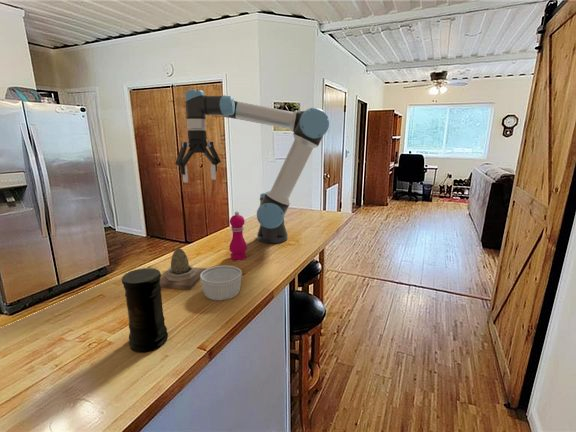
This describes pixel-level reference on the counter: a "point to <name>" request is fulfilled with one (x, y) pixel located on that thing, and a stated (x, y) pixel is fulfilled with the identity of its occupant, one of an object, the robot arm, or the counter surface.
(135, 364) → the counter surface
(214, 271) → the ramekin
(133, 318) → the container
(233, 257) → the pepper mill
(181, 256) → the decorative egg
